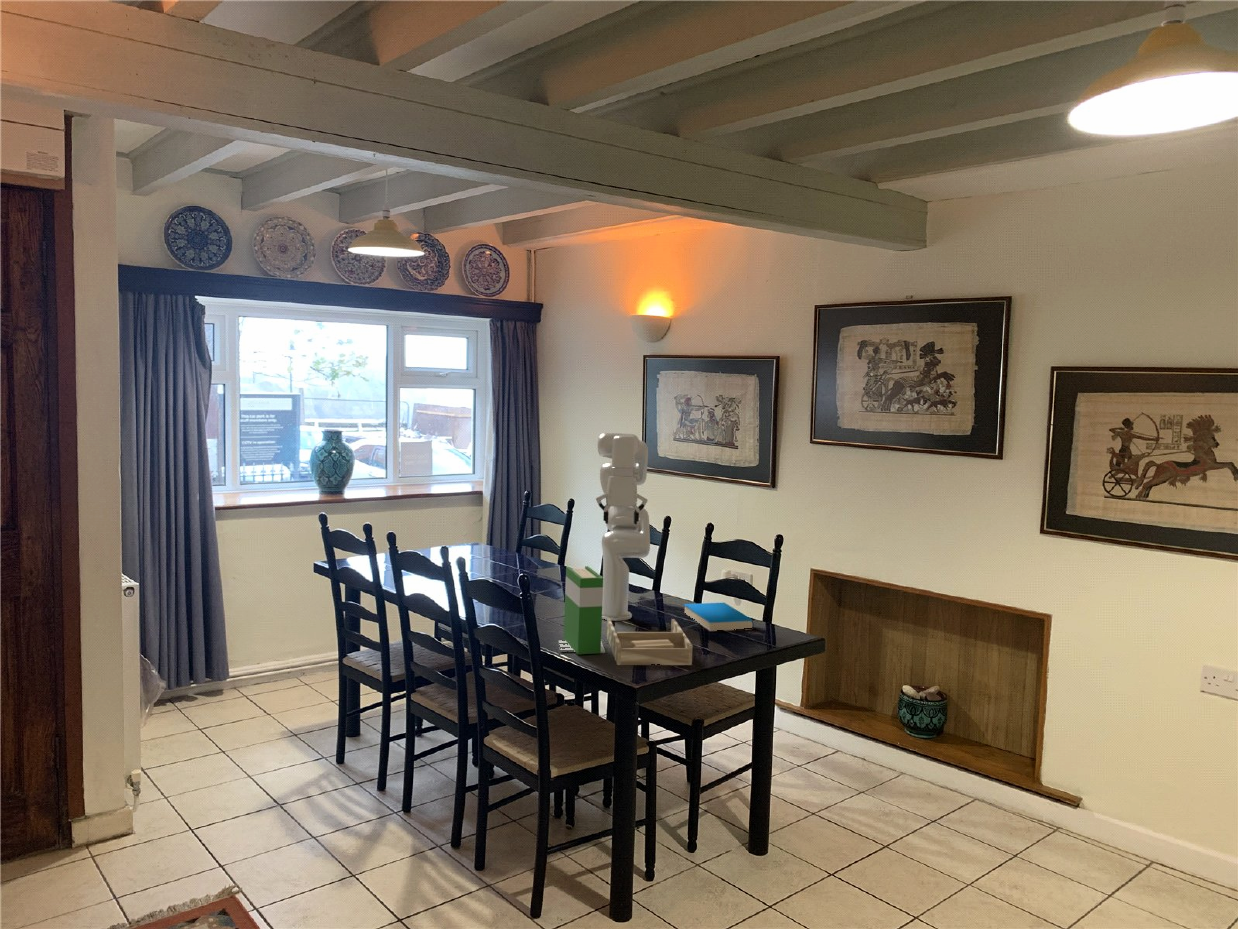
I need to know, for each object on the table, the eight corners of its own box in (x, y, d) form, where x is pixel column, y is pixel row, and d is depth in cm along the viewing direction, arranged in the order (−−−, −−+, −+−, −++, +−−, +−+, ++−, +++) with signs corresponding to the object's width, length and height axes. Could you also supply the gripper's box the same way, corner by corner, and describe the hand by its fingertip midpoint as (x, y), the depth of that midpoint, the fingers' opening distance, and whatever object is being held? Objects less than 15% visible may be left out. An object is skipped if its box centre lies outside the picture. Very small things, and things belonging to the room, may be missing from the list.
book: (710, 621, 315) (683, 603, 339) (709, 633, 315) (682, 614, 339) (754, 619, 320) (725, 601, 344) (753, 631, 321) (724, 612, 344)
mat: (558, 641, 296) (558, 640, 296) (601, 642, 297) (601, 640, 297) (560, 653, 284) (560, 651, 284) (604, 653, 285) (604, 651, 285)
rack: (606, 636, 304) (607, 615, 304) (673, 636, 307) (674, 616, 307) (617, 665, 274) (618, 642, 273) (691, 665, 277) (692, 642, 276)
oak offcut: (630, 650, 281) (631, 640, 281) (667, 648, 284) (667, 639, 284) (636, 656, 276) (636, 646, 275) (673, 654, 279) (673, 644, 278)
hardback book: (563, 638, 298) (566, 566, 296) (585, 637, 300) (587, 566, 298) (577, 654, 281) (580, 578, 279) (600, 653, 283) (603, 577, 281)
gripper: (646, 472, 306) (644, 522, 307) (595, 470, 304) (594, 521, 305) (650, 474, 298) (648, 525, 300) (598, 473, 296) (596, 524, 298)
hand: (620, 523), depth 302 cm, fingers open, 9 cm apart
